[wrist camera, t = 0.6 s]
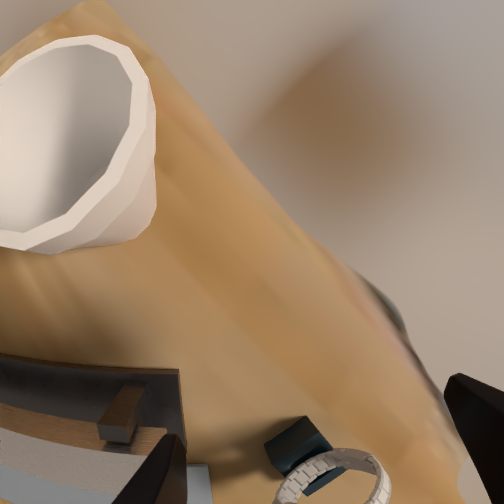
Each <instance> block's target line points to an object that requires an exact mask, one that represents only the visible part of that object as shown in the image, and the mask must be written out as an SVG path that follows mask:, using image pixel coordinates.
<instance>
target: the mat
mask: <svg viewBox="0 0 504 504" xmlns="http://www.w3.org/2000/svg"><path fill="white" fill-rule="evenodd" d="M187 488H188V496H187V504H213V500H212V493H211V485H210V478H209V470H208V464H187ZM116 497H117V495H115V494H108V493H102V492H96V491H91V490H86V489H81V488H77V487H72V486H68V485H64V484H60V483H56V482H53V481H49V480H46V479H42V478H39V477H36V476H33V475H30V474H27V473H24V472H21V471H18V470H15V469H12V468H10V467H7V466H5V465H2V464H0V498H2V499H4V500H7V501H9V502H11V503H14V504H111V503H112V502H113V501H114V499H115V498H116Z"/></svg>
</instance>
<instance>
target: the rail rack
mask: <svg viewBox="0 0 504 504" xmlns="http://www.w3.org/2000/svg"><path fill="white" fill-rule="evenodd" d="M0 403H2V404H6V405H9V406H13V407H17V408H21V409H24V410H29V411H33V412H37V413H42V414H46V415H51V416H56V417H62V418H67V419H73V420H80V421H87V422H94V423H97V424H96V425H97V429H98V433H99V437H100V440H105V441H114V442H123V443H129V441H130V438H131V436H132V434H133V431H134V429H135V427H151V428H166V430H167V433H176V434H178V435H179V437H180V439H181V441H182V443H183V445H184V447H185V449H186V453H187V440H186V432H185V424H184V415H183V406H182V397H181V386H180V375H179V369H139V368H117V367H102V366H90V365H79V364H69V363H60V362H52V361H45V360H38V359H31V358H25V357H19V356H13V355H7V354H2V353H0ZM117 496H118V495H117Z"/></svg>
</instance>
